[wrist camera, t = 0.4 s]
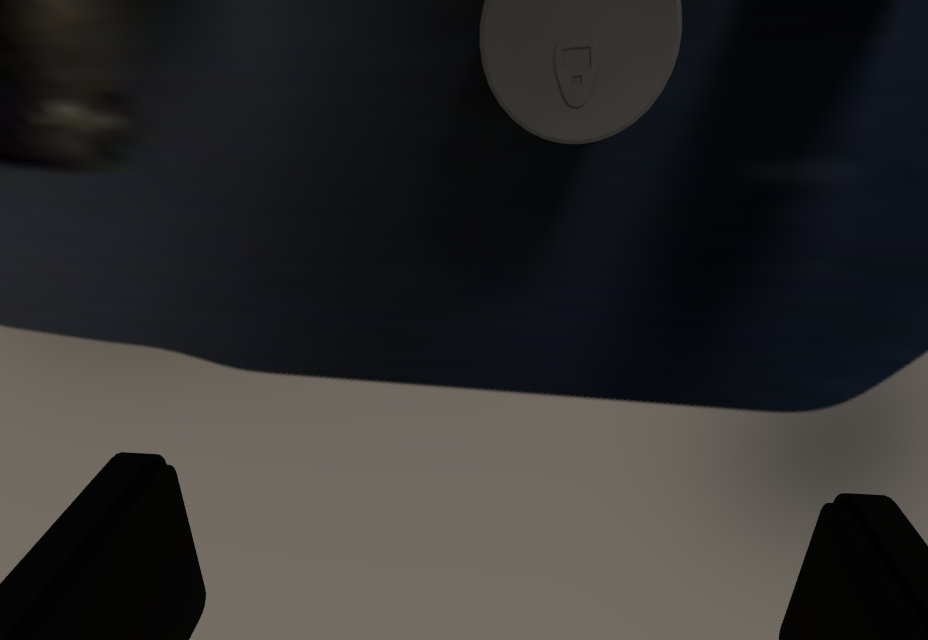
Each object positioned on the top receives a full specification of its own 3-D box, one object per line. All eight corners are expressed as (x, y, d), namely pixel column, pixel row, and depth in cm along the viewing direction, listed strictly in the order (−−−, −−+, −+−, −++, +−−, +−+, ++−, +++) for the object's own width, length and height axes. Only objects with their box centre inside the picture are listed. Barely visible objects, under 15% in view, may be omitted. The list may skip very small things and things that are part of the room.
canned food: (516, 125, 36) (515, 172, 26) (467, -25, 33) (446, -36, 23) (651, 76, 34) (704, 106, 25) (614, -87, 31) (657, -127, 22)
